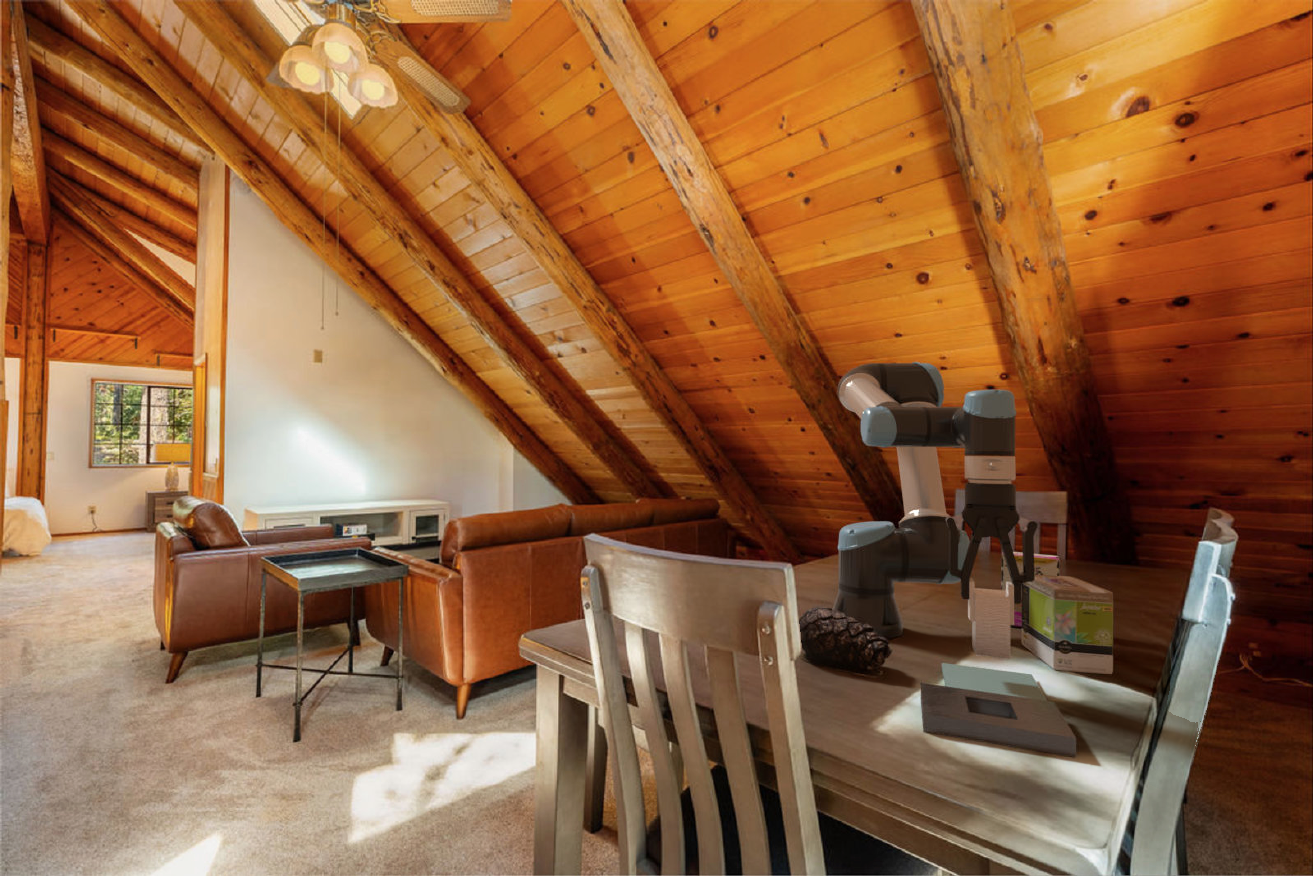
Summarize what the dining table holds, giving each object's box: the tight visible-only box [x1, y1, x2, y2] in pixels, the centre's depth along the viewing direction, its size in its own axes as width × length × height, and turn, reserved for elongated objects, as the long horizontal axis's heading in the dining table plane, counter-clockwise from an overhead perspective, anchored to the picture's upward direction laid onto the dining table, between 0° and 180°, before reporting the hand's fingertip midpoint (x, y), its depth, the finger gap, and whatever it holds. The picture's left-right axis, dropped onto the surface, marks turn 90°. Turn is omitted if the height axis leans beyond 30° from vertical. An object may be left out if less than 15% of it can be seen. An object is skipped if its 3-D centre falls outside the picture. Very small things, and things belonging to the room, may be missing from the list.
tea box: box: [1020, 575, 1114, 675], centre depth 114 cm, size 15×10×15 cm, turn 168°
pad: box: [941, 662, 1048, 701], centre depth 100 cm, size 14×12×1 cm
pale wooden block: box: [971, 587, 1012, 660], centre depth 100 cm, size 5×5×10 cm
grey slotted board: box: [920, 682, 1077, 758], centre depth 86 cm, size 18×12×2 cm, turn 68°
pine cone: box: [798, 605, 893, 679], centre depth 110 cm, size 10×18×10 cm, turn 56°
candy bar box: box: [1000, 551, 1060, 628], centre depth 134 cm, size 11×5×16 cm, turn 58°
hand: (990, 620), depth 100 cm, fingers closed on pale wooden block, 5 cm apart
